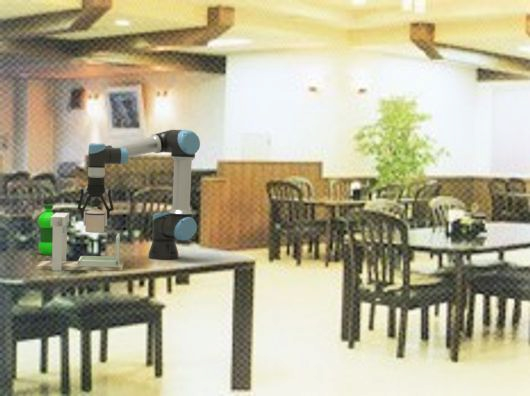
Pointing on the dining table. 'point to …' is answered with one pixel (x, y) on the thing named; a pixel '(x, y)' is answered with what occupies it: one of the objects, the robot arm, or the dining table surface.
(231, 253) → the dining table surface
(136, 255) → the dining table surface
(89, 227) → the teacup with lid
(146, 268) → the dining table surface
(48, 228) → the plastic bottle
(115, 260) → the press carriage
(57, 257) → the press frame
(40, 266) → the press track
